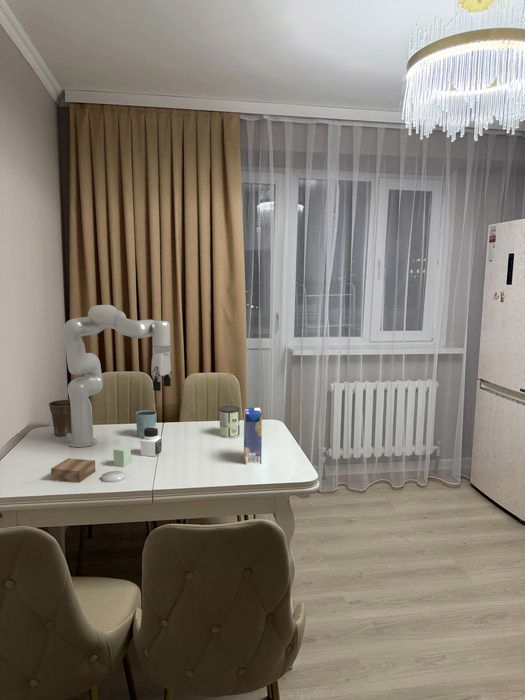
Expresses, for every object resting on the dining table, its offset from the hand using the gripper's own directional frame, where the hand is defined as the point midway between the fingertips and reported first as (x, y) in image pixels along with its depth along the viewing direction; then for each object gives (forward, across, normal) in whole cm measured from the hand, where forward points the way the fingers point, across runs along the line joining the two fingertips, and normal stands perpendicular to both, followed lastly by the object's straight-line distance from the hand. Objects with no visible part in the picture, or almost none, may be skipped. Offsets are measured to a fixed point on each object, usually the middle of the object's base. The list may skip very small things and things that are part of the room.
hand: (162, 388), depth 224 cm
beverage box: (+31, -7, +39) cm, 51 cm away
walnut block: (+31, +31, -24) cm, 50 cm away
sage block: (+31, +14, -12) cm, 36 cm away
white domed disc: (+31, +29, -7) cm, 43 cm away
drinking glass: (+31, -25, -22) cm, 45 cm away
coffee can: (+31, -38, +18) cm, 52 cm away
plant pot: (+31, -16, -61) cm, 71 cm away
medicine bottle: (+31, -1, -7) cm, 32 cm away
